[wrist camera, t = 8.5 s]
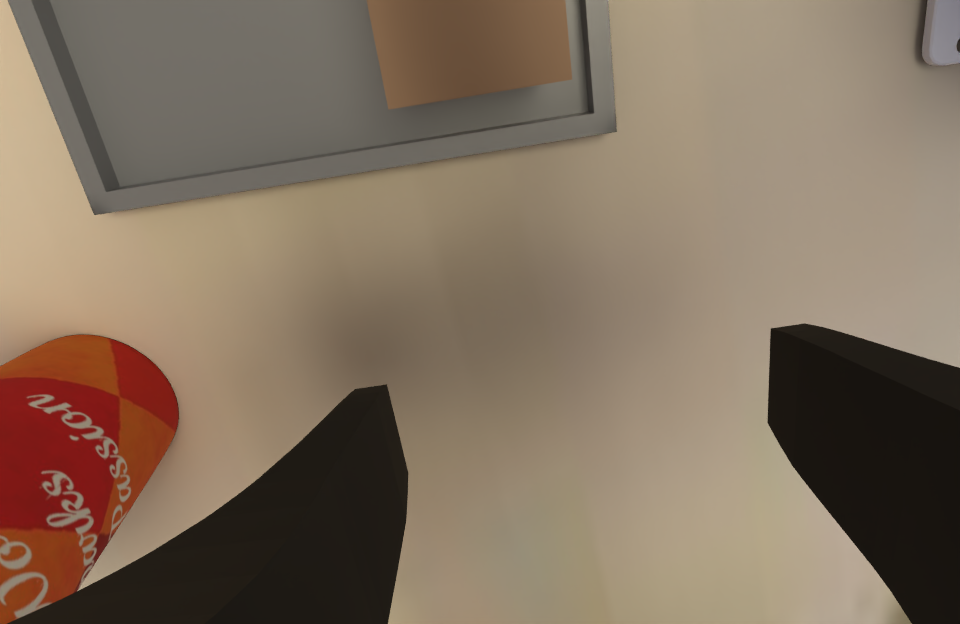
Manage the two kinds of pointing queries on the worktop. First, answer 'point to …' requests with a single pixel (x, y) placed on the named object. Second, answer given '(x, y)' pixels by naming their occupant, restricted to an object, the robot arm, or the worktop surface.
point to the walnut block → (467, 47)
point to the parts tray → (271, 96)
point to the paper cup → (73, 460)
